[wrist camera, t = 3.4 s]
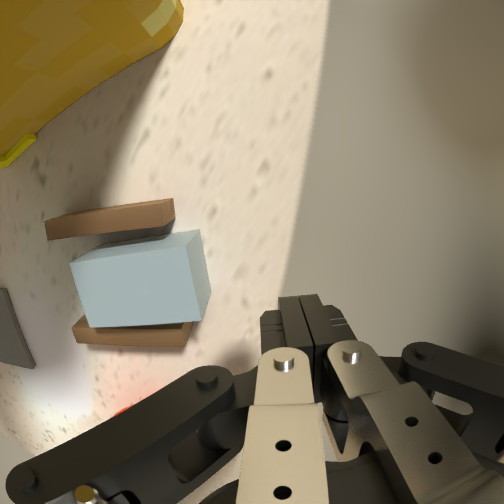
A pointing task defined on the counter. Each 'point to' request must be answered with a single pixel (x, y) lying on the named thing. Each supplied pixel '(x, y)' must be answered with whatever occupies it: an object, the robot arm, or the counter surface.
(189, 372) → the robot arm
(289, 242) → the counter surface
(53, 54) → the book
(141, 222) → the slot
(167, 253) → the block
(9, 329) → the mat
